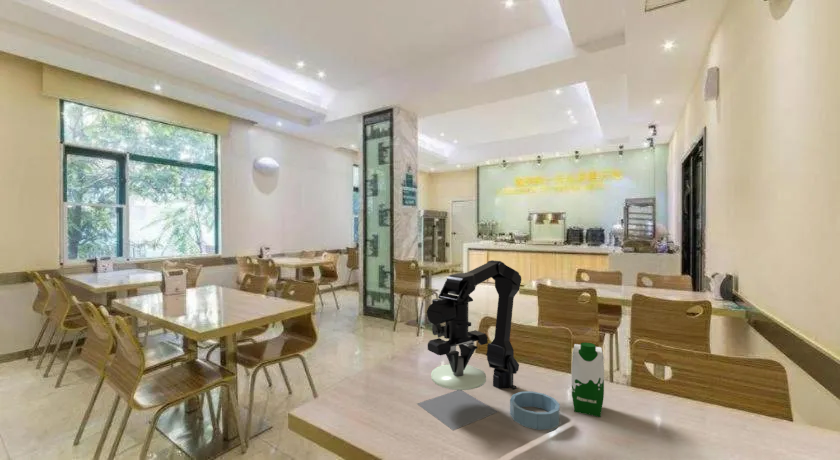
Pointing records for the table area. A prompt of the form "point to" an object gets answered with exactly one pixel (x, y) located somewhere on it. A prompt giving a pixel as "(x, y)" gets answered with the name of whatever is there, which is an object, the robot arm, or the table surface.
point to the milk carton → (587, 379)
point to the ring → (535, 418)
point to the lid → (458, 376)
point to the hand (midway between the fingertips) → (458, 370)
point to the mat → (457, 409)
